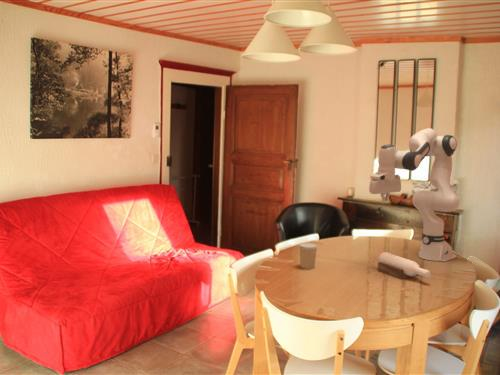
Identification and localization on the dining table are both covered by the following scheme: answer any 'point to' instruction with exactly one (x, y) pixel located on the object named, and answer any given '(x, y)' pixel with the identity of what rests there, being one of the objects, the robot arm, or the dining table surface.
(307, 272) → the dining table surface
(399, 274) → the cradle
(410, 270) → the bottle
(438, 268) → the dining table surface
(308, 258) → the coffee cup
